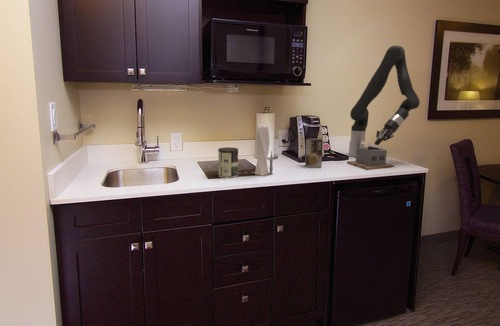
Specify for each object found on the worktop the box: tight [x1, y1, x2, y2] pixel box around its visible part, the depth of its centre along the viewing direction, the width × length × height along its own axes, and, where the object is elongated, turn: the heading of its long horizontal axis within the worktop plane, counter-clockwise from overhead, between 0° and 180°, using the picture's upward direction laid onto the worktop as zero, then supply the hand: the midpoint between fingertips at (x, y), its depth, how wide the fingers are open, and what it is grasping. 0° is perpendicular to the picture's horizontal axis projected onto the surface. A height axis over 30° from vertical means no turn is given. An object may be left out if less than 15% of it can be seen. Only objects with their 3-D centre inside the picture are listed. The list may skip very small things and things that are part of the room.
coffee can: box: [217, 146, 239, 179], centre depth 188 cm, size 10×10×14 cm
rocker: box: [361, 141, 384, 149], centre depth 216 cm, size 6×11×2 cm, turn 112°
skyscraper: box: [254, 121, 274, 178], centre depth 191 cm, size 8×8×28 cm
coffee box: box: [304, 137, 323, 168], centre depth 212 cm, size 9×6×16 cm
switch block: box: [355, 146, 388, 166], centre depth 217 cm, size 12×12×10 cm
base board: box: [346, 160, 396, 171], centre depth 218 cm, size 18×20×1 cm
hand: (375, 144), depth 217 cm, fingers closed
